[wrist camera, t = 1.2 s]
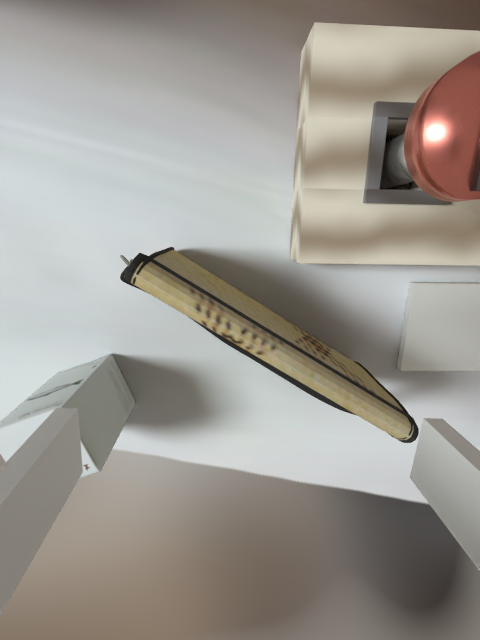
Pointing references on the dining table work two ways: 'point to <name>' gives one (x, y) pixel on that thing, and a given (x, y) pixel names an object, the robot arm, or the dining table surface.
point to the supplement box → (93, 409)
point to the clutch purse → (268, 339)
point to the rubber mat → (441, 327)
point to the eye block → (372, 149)
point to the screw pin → (441, 138)
